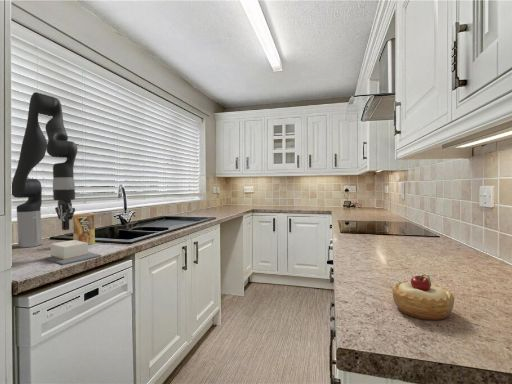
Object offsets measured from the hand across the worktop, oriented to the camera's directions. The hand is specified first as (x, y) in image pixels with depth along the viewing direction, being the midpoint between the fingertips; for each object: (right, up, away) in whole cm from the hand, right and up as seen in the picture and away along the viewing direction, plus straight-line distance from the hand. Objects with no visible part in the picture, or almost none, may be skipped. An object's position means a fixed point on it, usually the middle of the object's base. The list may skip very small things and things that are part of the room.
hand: (65, 229), depth 118 cm
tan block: (-3, -8, +2) cm, 9 cm away
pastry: (+117, -11, -54) cm, 130 cm away
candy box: (-6, -11, +22) cm, 25 cm away
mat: (+5, -11, -3) cm, 13 cm away
